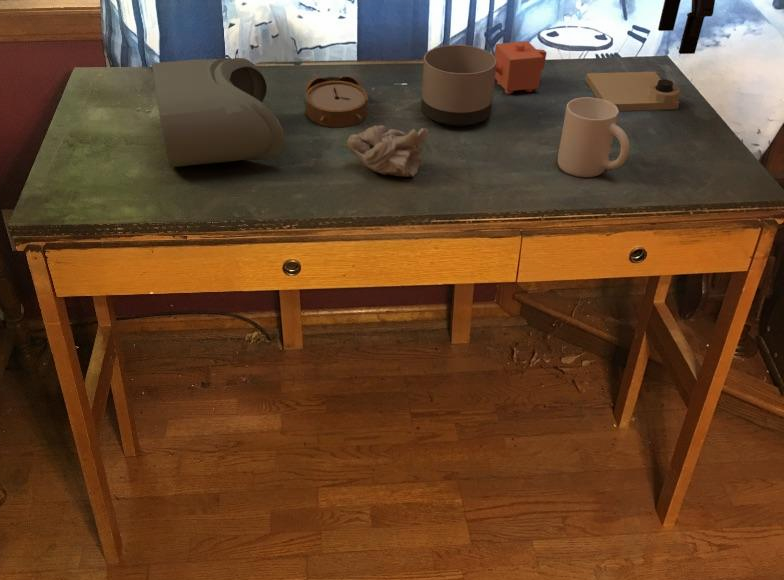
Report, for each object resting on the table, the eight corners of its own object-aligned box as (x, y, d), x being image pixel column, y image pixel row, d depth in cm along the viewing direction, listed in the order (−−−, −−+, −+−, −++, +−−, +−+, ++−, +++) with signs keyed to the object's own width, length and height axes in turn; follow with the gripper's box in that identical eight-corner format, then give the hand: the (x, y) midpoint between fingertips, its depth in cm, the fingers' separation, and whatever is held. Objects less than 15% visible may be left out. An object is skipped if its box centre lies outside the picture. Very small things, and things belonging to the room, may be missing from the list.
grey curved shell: (162, 123, 154) (150, 51, 145) (267, 113, 157) (262, 42, 148) (171, 184, 138) (158, 107, 129) (287, 171, 142) (283, 96, 133)
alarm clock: (309, 114, 151) (300, 65, 159) (310, 138, 154) (300, 89, 163) (372, 111, 152) (359, 62, 161) (371, 134, 156) (359, 86, 165)
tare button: (673, 93, 161) (675, 85, 160) (659, 93, 160) (661, 85, 159) (668, 87, 163) (670, 79, 162) (654, 87, 162) (656, 79, 161)
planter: (498, 129, 154) (504, 72, 147) (428, 133, 153) (431, 75, 145) (481, 98, 163) (486, 43, 156) (415, 102, 162) (417, 46, 155)
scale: (680, 110, 162) (684, 94, 159) (606, 112, 160) (609, 96, 158) (654, 78, 172) (658, 63, 170) (585, 80, 171) (587, 65, 168)
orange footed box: (476, 81, 169) (480, 38, 163) (533, 75, 172) (538, 33, 166) (490, 98, 164) (494, 54, 158) (548, 92, 166) (554, 49, 160)
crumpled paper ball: (427, 125, 134) (366, 91, 137) (394, 182, 136) (335, 147, 139) (441, 139, 142) (383, 107, 145) (410, 194, 143) (354, 160, 147)
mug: (634, 175, 143) (648, 116, 136) (606, 192, 139) (619, 132, 132) (575, 150, 149) (586, 92, 142) (546, 166, 145) (556, 107, 138)
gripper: (664, -115, 148) (635, 18, 163) (715, -77, 131) (677, 67, 147) (706, -115, 148) (673, 17, 164) (761, -77, 132) (720, 66, 147)
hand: (675, 41), depth 155 cm, fingers open, 10 cm apart
